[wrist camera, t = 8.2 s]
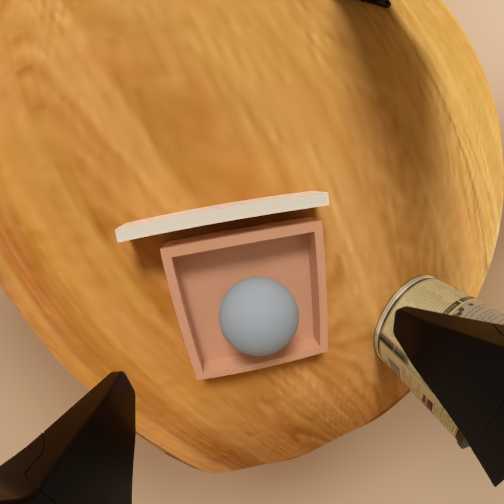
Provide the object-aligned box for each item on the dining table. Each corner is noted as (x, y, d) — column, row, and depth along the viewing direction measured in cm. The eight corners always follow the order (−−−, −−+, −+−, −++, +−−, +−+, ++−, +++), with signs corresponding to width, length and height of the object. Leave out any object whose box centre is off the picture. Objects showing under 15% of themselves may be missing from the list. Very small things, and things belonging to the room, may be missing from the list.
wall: (312, 190, 19) (328, 192, 16) (314, 201, 19) (329, 205, 16) (126, 223, 17) (114, 229, 15) (128, 234, 17) (117, 242, 15)
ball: (281, 260, 19) (309, 286, 14) (287, 322, 20) (312, 359, 15) (209, 274, 18) (214, 307, 13) (223, 336, 19) (232, 380, 15)
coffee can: (455, 295, 24) (544, 348, 11) (407, 369, 26) (479, 443, 12) (413, 255, 22) (540, 317, 8) (353, 349, 23) (443, 456, 10)
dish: (310, 216, 19) (322, 221, 17) (317, 337, 22) (327, 351, 20) (164, 241, 18) (159, 249, 16) (197, 363, 21) (197, 380, 19)
